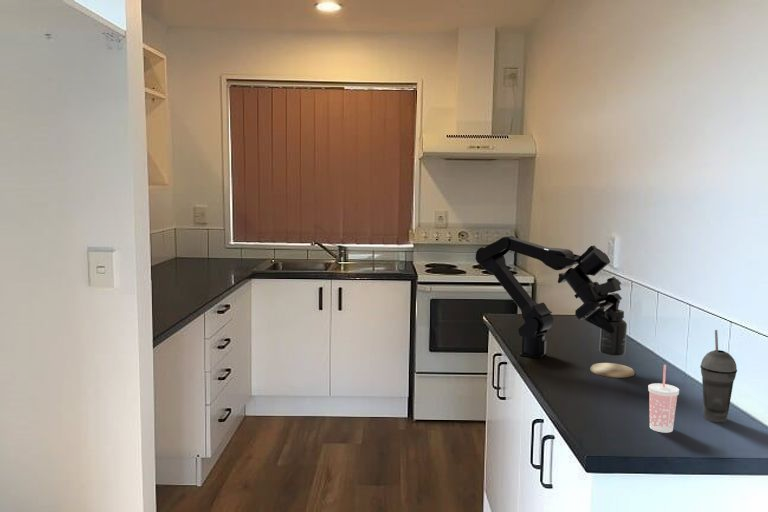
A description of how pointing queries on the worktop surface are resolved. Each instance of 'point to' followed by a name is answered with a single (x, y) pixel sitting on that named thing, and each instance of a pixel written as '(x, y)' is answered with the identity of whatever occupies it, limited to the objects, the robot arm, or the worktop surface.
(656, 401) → the beverage cup
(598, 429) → the worktop surface
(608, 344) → the supplement bottle
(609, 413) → the worktop surface
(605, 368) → the coaster
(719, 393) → the beverage cup
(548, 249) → the robot arm
